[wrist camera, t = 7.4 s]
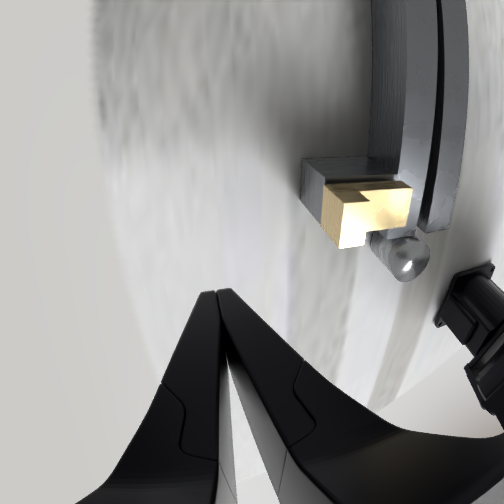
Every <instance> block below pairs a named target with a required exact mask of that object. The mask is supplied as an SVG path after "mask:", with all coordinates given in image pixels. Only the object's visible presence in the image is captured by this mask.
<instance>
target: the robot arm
mask: <svg viewBox="0 0 504 504" xmlns="http://www.w3.org/2000/svg"><path fill="white" fill-rule="evenodd" d="M494 269H495V266H494V265H493V264H488V265H485V266H482V267H478V268H475V269H472V270H468V271H465V272H461V273H458V274H456V275H455V276H454V278H453V280H452V283H451V286H450V288H449V291H448V293H447V296H446V298H445V301H444V303H443V305H442V308H441V310H440V312H439V315H438V317H437V319H436V321H435V326H436V327H437V328H439V327H442V326H444V325H447V326H448V327H449V329H450V330H451V331H452V332H453V334H454V335H455V336H456V337H457V339H458V340H459V341H460V342H461V344H462V345H466V347H467V348H468V349H469V351H470V352H471V353H472V355H473V356H474V358H473V359H472V360H471V362H469V363H467V365H466V366H465V367H464V369H465V371H466V373H467V377H468V379H469V381H470V383H471V385H472V387H473V389H474V392H475V394H476V396H477V398H478V400H479V402H480V405H481V407H482V408H483V409H484V410H487V411H488V412H489V413H490V414H491V415H493V416H496V417H497V418H498V420H499V422H500V424H501V426H502V427H503V430H504V292H503V291H502V290H501V289H500V288H499V287H498V286H497V285H496V284H495V283H494V282H493V281H492V280H491V277H492V274H493V272H494ZM226 356H227V357H226ZM227 361H228V364H227ZM228 365H229V369H230V372H231V375H232V378H233V381H234V384H235V387H236V390H237V392H238V395H239V398H240V401H241V404H242V407H243V409H244V412H245V415H246V418H247V420H248V423H249V426H250V429H251V431H252V434H253V437H254V439H255V442H256V444H257V447H258V450H259V452H260V455H261V457H262V460H263V463H264V465H265V468H266V470H267V472H268V475H269V478H270V480H271V483H272V485H273V487H274V490H275V492H276V494H277V497H278V500H279V502H280V504H504V433H502V434H500V435H497V436H494V437H489V438H467V437H456V436H446V435H438V434H430V433H423V432H416V431H410V430H406V429H402V428H400V427H397V426H395V425H393V424H391V423H389V422H387V421H385V420H384V419H382V418H381V417H379V416H378V415H376V414H375V413H373V412H372V411H370V410H369V409H367V408H366V407H364V406H363V405H361V404H360V403H358V402H357V401H356V400H354V399H353V398H351V397H350V396H348V395H347V394H345V393H344V392H343V391H341V390H340V389H339V388H337V387H336V386H335V385H333V384H332V383H331V382H329V381H328V380H327V379H326V378H325V377H323V376H322V375H321V374H320V373H319V372H318V371H316V370H315V369H314V368H313V367H312V366H311V365H310V364H309V363H308V362H307V361H306V360H304V359H303V358H302V357H301V356H300V355H299V354H298V353H297V352H296V351H295V350H294V349H293V348H292V347H291V346H290V345H289V344H288V343H287V342H286V341H285V340H283V339H282V338H281V337H280V336H279V335H278V334H277V333H276V332H275V331H274V330H273V329H272V328H271V327H270V326H269V325H268V324H267V323H266V322H265V321H264V320H263V319H262V318H261V317H260V316H259V315H258V314H257V313H256V312H255V311H254V310H253V309H252V308H250V307H249V306H248V305H247V304H246V303H245V302H244V301H243V300H242V299H241V298H240V297H239V296H238V295H237V294H236V293H235V292H234V291H233V290H232V289H231V288H226V289H219V290H217V291H216V292H215V291H214V290H212V291H205V292H201V293H200V295H199V297H198V299H197V301H196V303H195V306H194V308H193V310H192V312H191V315H190V317H189V319H188V321H187V323H186V326H185V328H184V330H183V332H182V335H181V337H180V339H179V342H178V344H177V346H176V348H175V351H174V353H173V355H172V358H171V360H170V362H169V364H168V367H167V369H166V371H165V374H164V376H163V378H162V381H161V384H160V385H159V387H158V390H157V392H156V394H155V397H154V399H153V401H152V403H151V406H150V408H149V410H148V412H147V414H146V416H145V417H144V419H143V421H142V423H141V425H140V426H139V428H138V430H137V432H136V434H135V435H134V437H133V438H132V440H131V442H130V443H129V445H128V447H127V449H126V450H125V452H124V454H123V455H122V457H121V459H120V460H119V462H118V464H117V466H116V467H115V469H114V470H113V472H112V474H111V475H110V476H109V477H108V479H107V480H106V481H105V482H104V483H103V484H102V485H101V486H100V487H99V488H98V489H96V490H95V491H93V492H92V493H91V494H89V495H88V496H86V497H85V498H83V499H82V500H80V501H79V502H77V503H76V504H237V494H236V481H235V468H234V455H233V440H232V425H231V409H230V392H229V374H228Z"/></svg>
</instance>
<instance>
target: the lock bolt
mask: <svg viewBox="0 0 504 504" xmlns="http://www.w3.org/2000/svg"><path fill="white" fill-rule="evenodd" d="M412 191H413V188H412V187H410V186H409V185H407V184H406V183H404V182H402V181H401V180H399V181H376V182H358V183H342V184H328V185H323V200H322V213H321V227H322V228H323V230H324V231H325V232H326V233H327V234H328V236H329V237H330V238H331V239H332V241H333V242H334V243H335V244H336V246H337V247H338V248H339V249H340V248H347V247H354V246H360V245H364V242H365V236H366V232H367V231H375V230H382V229H390V228H397V227H405V226H406V222H407V217H408V212H409V207H410V202H411V196H412Z"/></svg>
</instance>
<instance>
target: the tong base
mask: <svg viewBox="0 0 504 504" xmlns="http://www.w3.org/2000/svg"><path fill="white" fill-rule="evenodd" d="M371 6H372V42H373V61H372V99H371V118H370V133H369V146H368V157H331V158H309V159H302V170H301V202H302V203H303V204H304V206H305V207H306V208H307V209H308V210H309V211H310V213H311V214H312V215H313V216H314V217H315V219H316V220H317V221H318V222H319V224H320V225H321V213H322V200H323V185H328V184H342V183H358V182H376V181H399V180H401V181H402V182H404V183H406V184H407V185H409V186H410V187H412V188H413V191H412V196H411V202H410V207H409V212H408V217H407V222H406V226H405V227H397V228H390V229H382V230H377V231H378V232H379V233H380V234H381V235H383V236H384V237H385V238H386V239H394V238H400V237H407V236H413V235H414V234H415V230H416V226H417V221H418V217H419V212H420V207H421V202H422V197H423V192H424V187H425V181H426V175H427V169H428V163H429V156H430V149H431V141H432V133H433V124H434V114H435V102H436V87H437V61H438V32H437V7H436V0H371Z"/></svg>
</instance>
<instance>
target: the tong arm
mask: <svg viewBox="0 0 504 504" xmlns="http://www.w3.org/2000/svg"><path fill="white" fill-rule="evenodd" d="M436 7H437V32H438V61H437V87H436V102H435V114H434V124H433V133H432V141H431V149H430V156H429V163H428V169H427V175H426V181H425V187H424V192H423V197H422V202H421V207H420V212H419V217H418V221H417V226H418V227H419V228H420V229H421V230H422V231H424V232H425V233H430V232H435V231H440V230H445V229H448V228H449V224H450V219H451V215H452V210H453V206H454V201H455V196H456V191H457V185H458V180H459V174H460V168H461V161H462V154H463V147H464V138H465V129H466V118H467V105H468V84H469V44H468V25H467V12H466V2H465V0H436ZM371 249H372V251H373V252H374V254H375V255H376V256H377V257H378V258H379V259H380V260H381V261H382V263H383V264H384V265H385V266H386V267H387V268H388V269H389V270H390V272H391V273H392V274H393V275H394V276H395V277H396V278H397V280H399V281H401V282H407V281H410V280H412V279H414V278H416V277H417V276H418V275H419V274H420V273H421V272H422V271H423V270H424V269H425V267H426V266H427V264H428V261H429V258H430V250H429V247H428V246H427V245H426V244H425V243H424V242H423V241H422V240H420V239H419V238H418V237H417V236H416V235H415V234H414V235H413V236H407V237H400V238H394V239H386V238H385V237H384V236H383V235H381V234H380V233H379V232H378V231H377V230H376V231H375V232H374V234H373V236H372V239H371Z"/></svg>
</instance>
